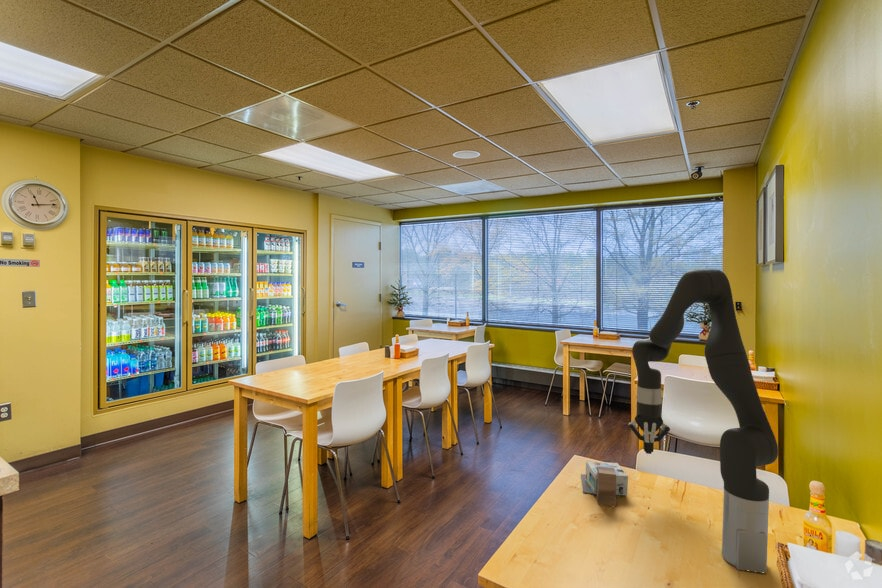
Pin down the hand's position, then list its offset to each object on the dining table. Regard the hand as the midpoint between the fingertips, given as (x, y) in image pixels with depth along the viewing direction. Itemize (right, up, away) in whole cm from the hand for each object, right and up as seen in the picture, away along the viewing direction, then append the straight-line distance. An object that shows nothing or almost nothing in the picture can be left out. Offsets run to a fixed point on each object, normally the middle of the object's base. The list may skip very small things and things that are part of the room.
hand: (648, 452), depth 145 cm
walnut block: (-17, -13, -7) cm, 22 cm away
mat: (-15, -13, +4) cm, 20 cm away
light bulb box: (-8, -9, +2) cm, 12 cm away
